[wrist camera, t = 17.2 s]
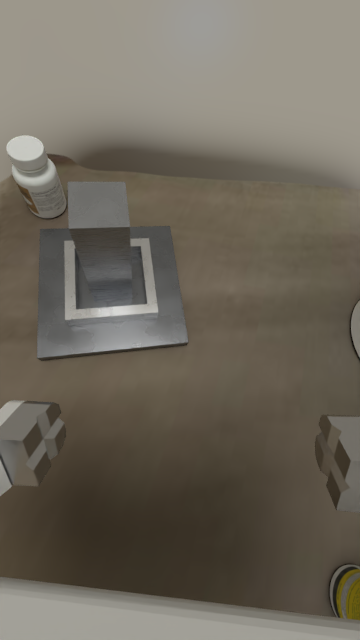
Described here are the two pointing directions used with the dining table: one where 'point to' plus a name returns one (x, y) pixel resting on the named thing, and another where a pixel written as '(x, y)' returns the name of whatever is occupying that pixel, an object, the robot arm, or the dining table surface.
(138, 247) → the block
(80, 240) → the steel bar
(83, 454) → the dining table surface
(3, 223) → the dining table surface
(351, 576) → the supplement bottle
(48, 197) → the pill bottle
